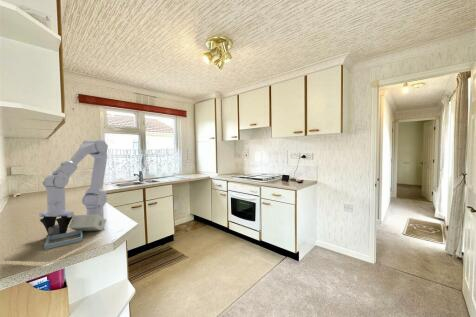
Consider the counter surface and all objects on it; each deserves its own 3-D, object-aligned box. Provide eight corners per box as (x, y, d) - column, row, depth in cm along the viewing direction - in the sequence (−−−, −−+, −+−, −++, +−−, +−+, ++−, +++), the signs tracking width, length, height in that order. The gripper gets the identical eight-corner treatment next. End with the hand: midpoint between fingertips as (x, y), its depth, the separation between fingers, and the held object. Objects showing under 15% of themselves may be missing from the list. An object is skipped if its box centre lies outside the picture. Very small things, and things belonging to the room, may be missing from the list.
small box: (98, 214, 88) (73, 215, 87) (93, 226, 85) (67, 227, 84) (107, 219, 95) (84, 220, 94) (103, 231, 92) (79, 232, 91)
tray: (48, 242, 80) (48, 236, 80) (82, 235, 87) (82, 229, 87) (44, 252, 72) (44, 245, 72) (82, 243, 79) (82, 237, 79)
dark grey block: (41, 239, 81) (41, 229, 81) (58, 233, 88) (57, 224, 88) (53, 239, 81) (53, 229, 81) (68, 233, 87) (68, 224, 87)
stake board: (47, 236, 87) (47, 222, 87) (76, 230, 93) (76, 217, 93) (45, 242, 80) (44, 228, 80) (76, 236, 86) (76, 222, 86)
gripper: (30, 204, 82) (31, 236, 82) (62, 204, 80) (63, 237, 80) (48, 200, 89) (49, 230, 89) (77, 200, 87) (78, 231, 87)
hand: (57, 233), depth 85 cm, fingers closed on dark grey block, 5 cm apart
